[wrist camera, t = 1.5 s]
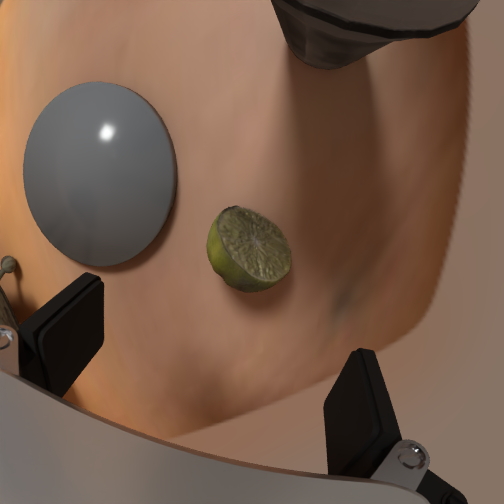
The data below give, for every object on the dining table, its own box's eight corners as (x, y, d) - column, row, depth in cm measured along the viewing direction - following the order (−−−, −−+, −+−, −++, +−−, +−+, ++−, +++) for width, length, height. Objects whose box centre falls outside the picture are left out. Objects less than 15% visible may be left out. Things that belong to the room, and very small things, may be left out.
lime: (217, 198, 20) (196, 220, 15) (296, 206, 19) (298, 231, 15) (215, 264, 21) (195, 302, 17) (287, 273, 21) (286, 313, 16)
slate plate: (42, 81, 17) (34, 81, 16) (196, 93, 17) (192, 91, 16) (30, 237, 22) (23, 241, 21) (162, 281, 22) (157, 288, 21)
